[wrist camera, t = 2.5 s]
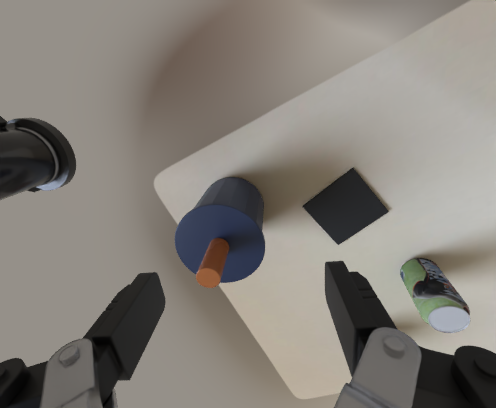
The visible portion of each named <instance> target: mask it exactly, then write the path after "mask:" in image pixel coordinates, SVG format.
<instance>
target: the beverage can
mask: <svg viewBox="0 0 496 408" xmlns="http://www.w3.org/2000/svg"><path fill="white" fill-rule="evenodd" d="M400 275H401V278H402V280H403V282H404V284H405V286H406V288H407V290H408V292H409V294H410V295H411V297H412V299H413V301H414V303H415V305H416V307H417V309H418V311H419V313H420V315H421V317H422V319H423V320H424V321H425V322H426V323H427V324H429V325H431V326H432V327H433V328H434V329H435V330H437V331H440V332H444V333H455V332H459V331H461V330H463V329H465V328H466V327H467V326H468V325H469V323H470V316H469V315H470V311H469V307H468V306H467V304H466V303H465V301H464V300H463V299H462V298H461V296H460V295H459V294H458V292H457V291H456V290H455V288H454V287H453V286H452V284H451V283H450V282H449V280H448V279H447V278H446V276H445V275H444V274H443V273H442V271H441V270H440V269H439V267H438V266H437V265H436V264H435V263H434V262H433V261H431V260H428V259H424V258H417V259H412V260H410V261H408V262H406V263H405V264H404V265H403V266H402V268H401V270H400Z"/></svg>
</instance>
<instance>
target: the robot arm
mask: <svg viewBox="0 0 496 408" xmlns="http://www.w3.org/2000/svg"><path fill="white" fill-rule="evenodd" d="M7 123H8V122H7V121H6V120H4V119H3V118H2V117H1V116H0V200H2V199H5V198H7V197H10V196H13V195H16V194H18V193H21V192H23V191H32V192H35V191H39V190H41V188H36V187H38V186H41V185H45V184H48V183H51V182H53V181H54V180H56V179H57V177H58V176H59V174H60V171H61V160H60V156H59V154H58V152H57V150H56V148H55V146H54V145H53V144H52V142H51V141H50V140H49V139H48V138H47V137H46V136H44V135H43V134H42V133H40V132H38V131H36V130H34V129H31V128H27V127H22V126H20V125H19V124H18V123H8V124H7ZM325 295H326V300H327V304H328V307H329V310H330V313H331V316H332V319H333V322H334V325H335V328H336V331H337V334H338V337H339V340H340V343H341V346H342V349H343V352H344V355H345V358H346V361H347V364H348V367H349V370H350V373H351V376H352V380H351V382H350V383H349V384H348V383H346V384H345V385H344V387H343V389H342V391H341V393H340V395H339V398H338V400H337V402H336V404H335V407H334V408H496V354H495V353H493V352H491V351H489V350H486V349H484V348H480V347H476V346H462V347H460V348H458V349H457V350H456V352H455V354H454V356H453V355H449V354H445V353H441V352H436V351H432V350H428V349H425V348H422V347H420V346H418V345H417V344H416V342H415V341H414V340H413V339H412V338H411V337H409V336H408V335H407V334H405V333H403V332H401V331H399V330H398V329H397V328H396V326H395V324H394V323H393V321H392V320H391V318H390V316H389V315H388V313H387V311H386V310H385V308H384V307H383V305H382V303H381V302H380V300H379V298H377V295H376V294H375V292H374V290H372V287H371V285H370V284H369V282H368V280H367V279H366V278H364V277H363V276H362V275H361V274H359V273H358V272H349V271H348V269H347V267H346V265H345V263H344V262H343V261H333V262H326V263H325ZM164 308H165V296H164V293H163V289H162V286H161V283H160V279H159V276H158V274H157V273H155V272H153V273H140V274H138V275H137V277H136V278H135V279H134V281H133V282H132V283H131V285H128V286H126V287H125V288H124V289H122V290H121V291H120V292H119V293H118V294H117V295H116V296H115V298H114V299H113V300H112V301H111V303H110V304H109V305H108V307H107V308H106V310H105V311H104V312H103V313H102V314H101V316H100V317H99V318H98V319H97V321H96V322H95V323H94V324H93V326H92V327H91V328H90V330H89V331H88V332H87V333H86V335H85V336H84V337H83V338H82V339H78V340H75V341H72V342H70V343H68V344H66V345H65V346H63V347H62V348H61V349H59V350H58V351H57V352H56V353H55V354H54V355H53V356H52V357H51V358H50V359H49V361H46V362H43V363H40V364H36V365H34V366H30V367H26V365H25V363H24V362H23V360H22V359H19V358H14V359H10V360H7V361H4V362H2V363H0V408H118V406H117V399H116V393H115V390H114V386H115V384H116V383H117V381H118V380H130V378H131V376H132V374H133V372H134V370H135V368H136V366H137V364H138V362H139V360H140V358H141V356H142V354H143V352H144V350H145V348H146V346H147V344H148V342H149V340H150V338H151V336H152V333H153V331H154V329H155V327H156V325H157V323H158V321H159V319H160V317H161V315H162V313H163V311H164Z"/></svg>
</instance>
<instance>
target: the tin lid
mask: <svg viewBox="0 0 496 408" xmlns="http://www.w3.org/2000/svg"><path fill="white" fill-rule="evenodd" d="M175 246H176V250H177V253H178V255H179V257H180V259H181V260H182V262H183V263H184V265H185V266H186V267H187V268H188V269H190V270H191V271H192V272H193V273H195V274H196V279H197V281H198V283H199V284H200V285H202V286H204V287H208V288H213V287H216V286H217V285H218V284H219V283H220V282H221V283H227V282H235V281H238V280H242V279H244V278H246V277H248V276H249V275H251V274H252V273H253V272H254V271H255V270H256V269H257V268H258V267H259V265H260V264H261V262H262V260H263V257H264V253H265V240H264V235H263V232H262V230H261V228H260V226H259V225H258V223H257V222H256V221H255V220H254V219H253V218H252V217H251V216H250V215H249V214H248V213H246V212H245V211H243V210H241V209H240V208H238V207H235V206H232V205H228V204H223V203H210V204H204V205H201V206H198V207H196V208H194V209H192V210H191V211H190V212H188V213H187V214H186V215H185V216H184V217H183V218H182V220H181V221H180V223H179V225H178V227H177V230H176V233H175Z"/></svg>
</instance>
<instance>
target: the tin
mask: <svg viewBox="0 0 496 408" xmlns="http://www.w3.org/2000/svg"><path fill="white" fill-rule="evenodd" d="M210 203H223V204H228V205H232V206H235V207H238V208H240V209H241V210H243V211H245V212H246V213H248V214H249V215H250V216H251V217H252V218H253V219H254V220H255V221H256V222H257V223H258V225H259V226H260V228H261V230H262V225H263V208H264V203H263V199H262V196H261V194H260V192H259V191H258V189H257V188H256V187H255V186H254V185H253V184H251V183H250V182H248V181H246V180H244V179H242V178H237V177H227V178H223V179H220V180H218V181H216V182H215V183H213V184H212V185H211V186H210V187H209V188H208V189H207V191H206V192H205V193H204V195H203V196H202V198H201V199H200V200H199V202H198V203H197V205H196V206H195V207H194V208H196V207H198V206H201V205H204V204H210Z"/></svg>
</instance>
